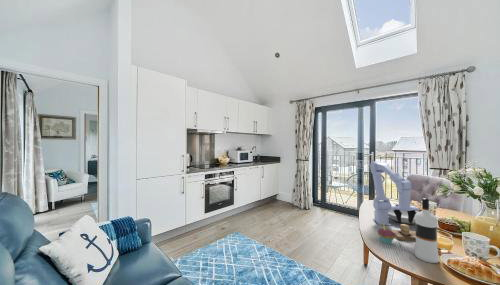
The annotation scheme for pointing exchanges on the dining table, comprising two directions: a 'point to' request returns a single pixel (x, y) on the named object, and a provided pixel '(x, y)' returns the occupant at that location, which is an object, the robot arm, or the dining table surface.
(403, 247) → the dining table surface
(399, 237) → the seat board
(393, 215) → the soup bowl
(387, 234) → the cupcake
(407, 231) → the peg
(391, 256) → the dining table surface
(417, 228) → the vodka
